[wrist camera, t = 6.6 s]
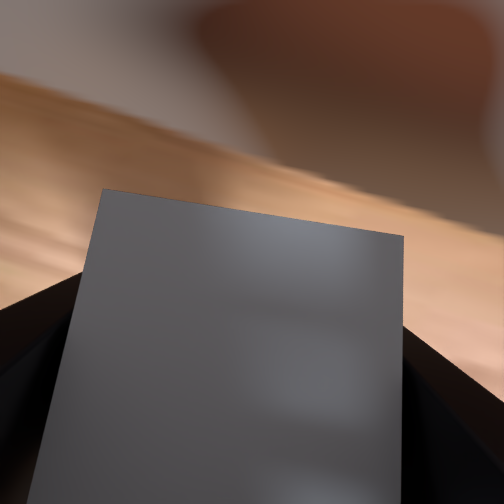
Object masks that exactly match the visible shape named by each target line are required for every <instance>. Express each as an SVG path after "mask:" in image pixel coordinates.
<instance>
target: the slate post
mask: <svg viewBox="0 0 504 504" xmlns="http://www.w3.org/2000/svg"><path fill="white" fill-rule="evenodd" d="M403 255H404V236H401V235H395V234H388V233H382V232H376V231H369V230H363V229H357V228H350V227H344V226H338V225H331V224H325V223H318V222H312V221H306V220H299V219H293V218H287V217H280V216H274V215H268V214H261V213H255V212H249V211H242V210H236V209H230V208H223V207H217V206H210V205H204V204H198V203H191V202H185V201H179V200H172V199H166V198H160V197H153V196H147V195H141V194H134V193H128V192H121V191H115V190H109V189H103V191H102V195H101V199H100V203H99V207H98V211H97V215H96V219H95V223H94V228H93V232H92V236H91V240H90V244H89V248H88V252H87V256H86V261H85V265H84V269H83V273H82V277H81V281H80V285H79V289H78V294H77V298H76V302H75V306H74V310H73V314H72V318H71V322H70V326H69V331H68V335H67V339H66V343H65V347H64V351H63V355H62V359H61V364H60V368H59V372H58V376H57V380H56V384H55V388H54V392H53V397H52V401H51V405H50V409H49V413H48V417H47V421H46V425H45V430H44V434H43V438H42V442H41V446H40V450H39V454H38V458H37V462H36V467H35V471H34V475H33V479H32V483H31V487H30V491H29V495H28V500H27V504H401V437H402V346H403Z"/></svg>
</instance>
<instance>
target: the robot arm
mask: <svg viewBox="0 0 504 504" xmlns="http://www.w3.org/2000/svg"><path fill="white" fill-rule="evenodd" d="M82 273H83V272H81V273H79V274H76V275H74V276H72V277H70V278H68V279H66V280H64V281H61V282H59V283H57V284H55V285H53V286H51V287H49V288H47V289H44V290H42V291H40V292H38V293H36V294H34V295H32V296H29V297H27V298H25V299H23V300H21V301H19V302H17V303H15V304H12V305H10V306H8V307H6V308H4V309H2V310H0V504H27V500H28V495H29V491H30V487H31V483H32V479H33V475H34V471H35V467H36V462H37V458H38V454H39V450H40V446H41V442H42V438H43V434H44V430H45V425H46V421H47V417H48V413H49V409H50V405H51V401H52V397H53V392H54V388H55V384H56V380H57V376H58V372H59V368H60V364H61V359H62V355H63V351H64V347H65V343H66V339H67V335H68V331H69V326H70V322H71V318H72V314H73V310H74V306H75V302H76V298H77V294H78V289H79V285H80V281H81V277H82ZM401 504H504V402H503V401H501V400H500V399H499V398H497V397H496V396H495V395H493V394H492V393H491V392H489V391H488V390H487V389H485V388H484V387H483V386H482V385H480V384H479V383H478V382H476V381H475V380H474V379H472V378H471V377H470V376H468V375H467V374H466V373H464V372H463V371H462V370H460V369H459V368H458V367H457V366H455V365H454V364H453V363H451V362H450V361H449V360H447V359H446V358H445V357H443V356H442V355H441V354H440V353H438V352H437V351H436V350H434V349H433V348H432V347H430V346H429V345H428V344H426V343H425V342H424V341H422V340H421V339H420V338H419V337H417V336H416V335H415V334H413V333H412V332H411V331H409V330H408V329H407V328H405V327H404V326H403V346H402V437H401Z"/></svg>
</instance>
